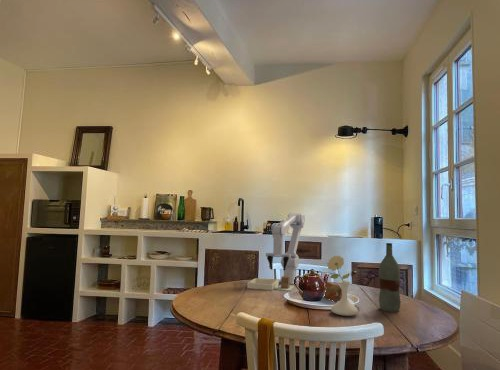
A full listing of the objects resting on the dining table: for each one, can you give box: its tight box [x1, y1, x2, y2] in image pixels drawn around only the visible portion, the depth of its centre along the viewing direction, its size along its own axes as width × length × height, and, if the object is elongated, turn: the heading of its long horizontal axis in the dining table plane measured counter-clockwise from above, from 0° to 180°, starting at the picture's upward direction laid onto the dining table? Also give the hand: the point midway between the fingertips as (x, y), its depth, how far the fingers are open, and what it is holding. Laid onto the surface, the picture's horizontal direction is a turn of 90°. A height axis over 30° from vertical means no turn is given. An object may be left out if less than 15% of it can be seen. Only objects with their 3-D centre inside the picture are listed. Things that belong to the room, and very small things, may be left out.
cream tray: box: [246, 277, 280, 291], centre depth 212 cm, size 16×15×3 cm
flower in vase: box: [326, 255, 359, 317], centre depth 158 cm, size 13×11×25 cm
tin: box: [323, 281, 342, 302], centre depth 183 cm, size 15×3×8 cm, turn 25°
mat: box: [275, 284, 295, 292], centre depth 208 cm, size 12×8×1 cm, turn 163°
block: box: [280, 275, 291, 289], centre depth 208 cm, size 4×4×6 cm
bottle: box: [378, 242, 401, 313], centre depth 167 cm, size 9×9×30 cm
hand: (277, 269), depth 212 cm, fingers open, 7 cm apart
